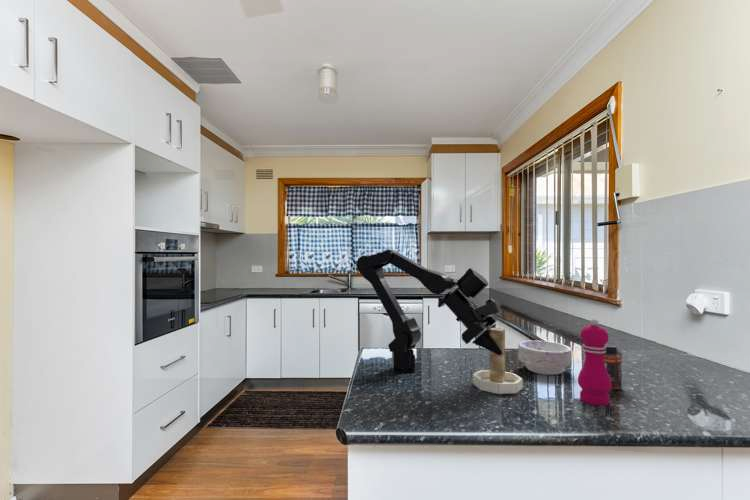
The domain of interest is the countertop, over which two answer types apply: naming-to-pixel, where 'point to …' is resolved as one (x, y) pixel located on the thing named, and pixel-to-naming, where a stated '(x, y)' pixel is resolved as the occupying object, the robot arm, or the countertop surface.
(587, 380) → the pepper mill
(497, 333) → the tall wooden post
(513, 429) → the countertop surface
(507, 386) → the bowl
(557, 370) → the paper bowls
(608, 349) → the supplement bottle
